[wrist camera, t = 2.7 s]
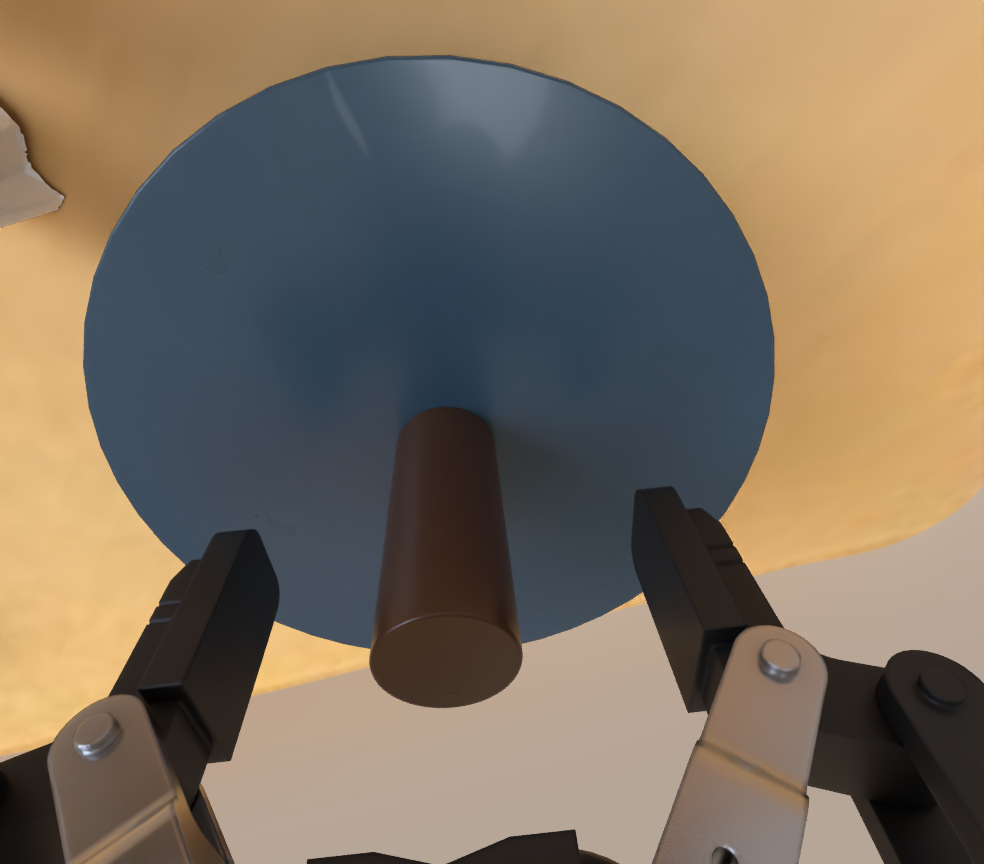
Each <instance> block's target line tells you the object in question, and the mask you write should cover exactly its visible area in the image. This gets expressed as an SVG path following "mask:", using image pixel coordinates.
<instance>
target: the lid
mask: <svg viewBox="0 0 984 864" xmlns="http://www.w3.org/2000/svg"><path fill="white" fill-rule="evenodd" d="M83 368H84V375H85V382H86V389H87V397H88V404H89V409H90V413H91V416H92V419H93V423H94V426H95V429H96V432H97V436H98V439H99V442H100V446H101V448H102V450H103V452H104V455H105V457H106V459H107V461H108V463H109V465H110V467H111V469H112V472H113V474H114V476H115V478H116V480H117V482H118V484H119V485H120V487H121V488H122V490H123V491H124V493H125V495H126V496H127V498H128V499H129V501H130V502H131V504H132V505H133V507H134V509H135V510H136V512H137V513H138V515H139V516H140V517H141V518H142V519H143V521H144V522H145V523H146V524H147V525H148V526H149V528H150V529H151V530H152V531H153V532H154V534H155V535H156V536H157V537H158V538H159V540H160V541H161V542H162V543H163V544H164V545H165V546H166V547H167V548H168V549H169V550H170V551H171V552H172V553H174V554H175V555H176V556H177V557H178V558H179V559H180V560H181V561H182V562H183V563H184V564H185V565H187V564H188V563H189V562H190V561H191V560H197V559H201V558H202V556H203V554H204V552H205V550H206V548H207V546H208V544H209V542H210V540H211V539H212V537H213V536H214V534H216V533H218V532H227V531H236V530H246V529H255V530H256V531H257V532H258V533H259V535H260V537H261V539H262V542H263V544H264V547H265V549H266V552H267V554H268V556H269V559H270V561H271V564H272V566H273V569H274V571H275V574H276V576H277V579H278V582H279V589H280V600H279V607H278V610H277V614H276V617H275V620H274V621H276V622H278V623H280V624H283V625H286V626H288V627H291V628H294V629H296V630H299V631H302V632H305V633H307V634H310V635H313V636H317V637H320V638H324V639H328V640H331V641H335V642H339V643H342V644H346V645H352V646H357V647H363V648H368V649H371V650H370V657H369V664H370V669H371V672H372V674H373V677H374V679H375V680H376V682H377V683H378V685H379V686H380V687H381V688H382V689H383V690H385V691H386V692H387V693H388V694H390V695H392V696H393V697H395V698H397V699H400V700H402V701H404V702H407V703H410V704H414V705H418V706H424V707H432V708H452V707H460V706H466V705H471V704H474V703H478V702H481V701H483V700H486V699H488V698H490V697H492V696H494V695H496V694H498V693H499V692H501V691H502V690H504V689H505V688H506V687H507V686H508V685H509V684H510V683H511V682H512V681H513V680H514V679H515V677H516V676H517V674H518V672H519V670H520V667H521V664H522V657H523V656H522V654H523V653H522V645H521V644H522V643H527V642H531V641H535V640H539V639H543V638H546V637H548V636H552V635H554V634H558V633H560V632H564V631H567V630H570V629H572V628H575V627H577V626H579V625H582V624H584V623H586V622H588V621H591V620H593V619H596V618H598V617H600V616H602V615H604V614H606V613H608V612H610V611H611V610H613V609H615V608H617V607H619V606H621V605H622V604H624V603H626V602H628V601H630V600H631V599H633V598H634V597H636V596H637V595H639V594H640V593H642V592H643V590H642V587H641V585H640V582H639V579H638V577H637V574H636V571H635V568H634V564H633V559H632V551H631V536H632V523H633V509H634V496H635V492H636V490H638V489H648V488H657V487H667V486H672V487H674V488H675V490H676V491H677V493H678V495H679V497H680V499H681V500H682V502H683V504H684V506H685V508H686V509H693V508H702V509H704V510H705V511H706V512H707V513H709V514H710V515H711V516H712V517H714V518H715V519H716V520H718V521H719V520H720V518H721V517H722V516H723V515H724V513H725V512H726V511H727V509H728V507H729V506H730V504H731V502H732V501H733V499H734V497H735V496H736V494H737V493H738V491H739V489H740V488H741V486H742V484H743V483H744V481H745V479H746V476H747V474H748V472H749V470H750V467H751V465H752V463H753V461H754V458H755V456H756V454H757V452H758V450H759V446H760V443H761V440H762V436H763V433H764V429H765V426H766V423H767V419H768V416H769V411H770V404H771V397H772V390H773V383H774V333H773V326H772V320H771V314H770V308H769V302H768V296H767V292H766V289H765V286H764V283H763V280H762V277H761V274H760V271H759V268H758V265H757V262H756V259H755V256H754V254H753V252H752V250H751V248H750V246H749V244H748V242H747V240H746V238H745V236H744V234H743V232H742V230H741V229H740V227H739V225H738V223H737V221H736V219H735V217H734V215H733V213H732V212H731V211H730V209H729V208H728V207H727V205H726V204H725V203H724V201H723V200H722V199H721V197H720V196H719V195H718V193H717V192H716V190H715V189H714V188H713V186H712V185H711V184H710V182H709V181H708V180H707V178H706V177H705V176H704V174H703V173H702V172H701V171H699V170H698V169H697V168H696V167H695V166H694V165H693V164H692V163H691V162H690V161H689V160H688V159H687V158H686V157H685V156H684V155H683V154H682V153H681V152H680V151H679V150H678V149H677V148H676V147H675V146H674V145H673V144H672V143H671V142H669V141H668V140H667V139H666V138H665V137H664V136H662V135H661V134H659V133H658V132H656V131H655V130H654V129H652V128H651V127H649V126H648V125H646V124H645V123H644V122H642V121H641V120H639V119H638V118H636V117H635V116H634V115H632V114H631V113H629V112H628V111H626V110H625V109H624V108H622V107H621V106H619V105H616V104H614V103H612V102H610V101H608V100H606V99H604V98H602V97H600V96H598V95H596V94H594V93H592V92H590V91H588V90H586V89H583V88H581V87H579V86H577V85H575V84H573V83H571V82H569V81H566V80H563V79H559V78H556V77H553V76H549V75H546V74H543V73H540V72H536V71H533V70H530V69H526V68H523V67H520V66H517V65H513V64H509V63H502V62H495V61H487V60H480V59H473V58H466V57H459V56H452V55H431V56H386V57H380V58H374V59H369V60H363V61H357V62H351V63H346V64H340V65H334V66H328V67H325V68H322V69H319V70H316V71H313V72H310V73H307V74H304V75H301V76H299V77H296V78H293V79H290V80H287V81H284V82H281V83H278V84H276V85H273V86H270V87H268V88H266V89H264V90H262V91H260V92H258V93H257V94H255V95H253V96H251V97H249V98H247V99H246V100H244V101H242V102H240V103H238V104H236V105H235V106H233V107H231V108H229V109H227V110H225V111H223V112H222V113H220V114H218V115H217V116H215V117H214V118H213V119H211V120H210V121H209V122H208V123H206V124H205V125H204V126H203V127H201V128H200V129H199V130H197V131H196V132H195V133H194V134H192V135H191V136H190V137H189V138H187V139H186V140H185V141H184V142H182V143H181V144H180V145H178V146H177V147H176V148H175V149H173V150H172V152H171V153H170V154H169V155H168V156H167V157H166V158H165V159H164V160H163V162H162V163H161V164H160V165H159V166H158V167H157V168H156V169H155V171H154V172H153V173H152V174H151V175H150V176H149V177H148V178H147V180H146V181H145V182H144V183H143V184H142V185H141V186H140V187H139V188H138V190H137V191H136V193H135V195H134V196H133V198H132V199H131V201H130V203H129V204H128V206H127V207H126V209H125V211H124V212H123V214H122V216H121V217H120V219H119V220H118V222H117V224H116V225H115V227H114V229H113V230H112V232H111V234H110V237H109V239H108V242H107V244H106V247H105V249H104V252H103V254H102V257H101V259H100V262H99V264H98V267H97V270H96V272H95V275H94V277H93V282H92V287H91V292H90V297H89V302H88V307H87V312H86V317H85V323H84V359H83Z"/></svg>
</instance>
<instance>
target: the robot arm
mask: <svg viewBox="0 0 984 864" xmlns="http://www.w3.org/2000/svg"><path fill="white" fill-rule="evenodd" d="M631 551H632V559H633V564H634V568H635V571H636V574H637V577H638V579H639V582H640V585H641V587H642V590H643V593H644V596H645V598H646V601H647V604H648V606H649V609H650V612H651V614H652V617H653V620H654V622H655V625H656V628H657V631H658V633H659V636H660V638H661V641H662V644H663V647H664V649H665V652H666V655H667V657H668V660H669V663H670V666H671V668H672V670H673V674H674V676H675V679H676V682H677V684H678V687H679V690H680V692H681V695H682V698H683V700H684V703H685V706H686V709H687V711H688V713H691V712H700V711H707V714H708V717H707V720H706V723H705V726H704V729H703V731H702V734H701V737H700V739H699V740H697V742H696V744H695V746H694V749H693V751H692V753H691V756H690V759H689V762H688V764H687V767H686V770H685V773H684V775H683V778H682V781H681V784H680V787H679V789H678V792H677V795H676V798H675V801H674V803H673V806H672V809H671V812H670V814H669V817H668V820H667V823H666V826H665V828H664V831H663V834H662V837H661V840H660V842H659V845H658V848H657V851H656V854H655V857H654V859H653V862H652V864H798V863H799V857H800V852H801V847H802V842H803V836H804V830H805V825H806V820H807V814H808V807H809V797H808V796H807V795H806V792H807V786H812V787H816V788H820V789H825V790H829V791H833V792H837V793H842V794H846V795H850V796H851V797H852V799H853V801H854V803H855V805H856V807H857V809H858V811H859V813H860V815H861V817H862V820H863V822H864V823H865V826H866V828H867V830H868V832H869V834H870V836H871V838H872V840H873V842H874V844H875V846H876V848H877V850H878V852H879V854H880V856H881V858H882V860H883V862H884V864H984V683H983V682H981V680H980V679H979V678H978V677H976V676H975V675H974V674H973V673H972V672H970V671H969V670H968V669H966V668H965V667H963V666H962V665H960V664H958V663H957V662H955V661H952V660H951V659H948V658H946V657H944V656H941V655H938V654H935V653H931V652H928V651H921V650H908V651H902V652H900V653H897V654H895V655H894V656H892V657H891V658H890V659H889V661H888V663H887V665H886V667H885V668H882V667H877V666H871V665H866V664H860V663H854V662H849V661H843V660H838V659H834V658H830V657H827V656H824V655H821V654H819V652H818V651H817V650H816V649H815V647H813V646H812V645H811V644H810V643H809V642H808V641H807V640H805V639H804V638H803V637H801V636H799V635H798V634H796V633H794V632H792V631H790V630H787V629H785V628H784V627H783V625H782V624H781V623H780V621H779V619H778V618H777V616H776V614H775V613H774V611H773V609H772V608H771V606H770V604H769V603H768V601H767V599H766V598H765V596H764V594H763V593H762V591H761V589H760V588H759V586H758V584H757V582H756V581H755V579H754V577H753V576H752V574H751V572H750V571H749V569H748V567H747V566H746V564H745V563H743V561H742V557H741V556H740V554H739V552H738V551H737V549H736V547H733V542H732V541H731V539H730V537H729V536H728V534H727V532H726V531H725V529H724V527H723V526H722V524H721V523H720V522H719V521H718V520H716V519H715V518H714V517H712V516H711V515H710V514H709V513H707V512H706V511H705V510H704V509H702V508H693V509H686V508H685V506H684V504H683V502H682V500H681V499H680V497H679V495H678V493H677V491H676V490H675V488H674V487H672V486H667V487H657V488H648V489H638V490H636V492H635V496H634V509H633V523H632V536H631ZM279 600H280V589H279V582H278V579H277V576H276V574H275V571H274V569H273V566H272V564H271V561H270V559H269V556H268V554H267V552H266V549H265V547H264V544H263V542H262V539H261V537H260V535H259V533H258V532H257V531H256V530H255V529H246V530H236V531H227V532H218V533H216V534H214V536H213V537H212V539H211V540H210V542H209V544H208V546H207V548H206V550H205V552H204V554H203V556H202V558H201V559H197V560H191V561H190V562H189V563H188V564H187V565H186V566H185V567H184V568H183V569H182V570H181V571H180V572H179V573H178V574H177V575H176V576H175V577H174V578H173V579H172V580H171V581H170V583H169V585H168V586H167V588H166V590H165V592H164V594H163V596H162V598H161V599H160V601H159V607H156V609H155V611H154V613H153V614H152V616H151V618H150V620H149V621H150V624H149V625H147V626H146V627H145V629H144V631H143V633H142V635H141V637H140V639H139V640H138V642H137V644H136V646H135V648H134V650H133V652H132V653H131V655H130V657H129V659H128V661H127V663H126V665H125V667H124V668H123V670H122V672H121V674H120V676H119V678H118V680H117V681H116V683H115V685H114V687H113V689H112V691H111V693H110V694H109V696H108V697H106V698H104V699H101V700H99V701H97V702H95V703H93V704H91V705H89V706H88V707H86V708H85V709H83V710H82V711H80V712H79V713H78V714H77V715H75V716H74V717H73V718H72V719H71V720H70V721H69V722H68V723H67V724H66V725H65V726H64V727H63V728H62V729H61V731H60V732H59V733H58V735H57V736H56V738H55V739H54V741H53V742H52V743H50V744H47V745H45V746H42V747H40V748H37V749H34V750H32V751H29V752H27V753H24V754H22V755H19V756H16V757H14V758H11V759H9V760H6V761H4V762H1V763H0V864H234V861H233V858H232V856H231V853H230V851H229V849H228V846H227V844H226V841H225V839H224V836H223V834H222V831H221V829H220V827H219V824H218V822H217V819H216V817H215V814H214V812H213V810H212V807H211V805H210V802H209V800H208V797H207V795H206V792H205V790H204V788H203V786H202V785H201V783H200V782H201V779H202V777H203V774H204V771H205V768H206V765H207V763H216V762H225V761H230V760H231V758H232V755H233V752H234V748H235V745H236V742H237V739H238V736H239V732H240V729H241V726H242V723H243V720H244V716H245V713H246V710H247V707H248V704H249V700H250V697H251V694H252V691H253V687H254V684H255V681H256V678H257V675H258V671H259V668H260V665H261V662H262V659H263V655H264V652H265V649H266V646H267V643H268V639H269V636H270V633H271V630H272V627H273V623H274V620H275V617H276V614H277V610H278V607H279ZM307 864H429V863H424V862H420V861H415V860H409V859H405V858H400V857H395V856H390V855H386V854H381V853H376V852H370V853H360V854H351V855H342V856H334V857H324V858H316V859H308V860H307ZM447 864H619V863H617V862H615V861H613V860H611V859H609V858H607V857H604V856H601V855H598V854H595V853H593V852H589V851H584V850H579V849H578V843H577V837H576V831H575V830H567V831H558V832H549V833H540V834H530V835H522V836H513V837H508V838H506V839H504V840H501V841H499V842H496V843H494V844H492V845H489V846H487V847H485V848H482V849H480V850H478V851H476V852H473V853H471V854H469V855H466V856H464V857H461V858H459V859H457V860H454V861H452V862H450V863H447Z"/></svg>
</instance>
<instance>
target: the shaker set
mask: <svg viewBox="0 0 984 864" xmlns="http://www.w3.org/2000/svg"><path fill="white" fill-rule="evenodd" d="M26 150H27V148H26V145H25V141H24V136H23V134H22V133H20V127H19V126H18V125H17V124H16V123H15V122H14V121H13V120H12V118H10V117H9V115H8V114H7V113H6V112H5V111H4V110H3V109H2V108H0V228H2V227H5V226H8V225H11V224H14V223H18V222H22V221H25V220H28V219H31V218H35V217H38V216H40V215H43V214H46V213H50V212H53V211H58V209H59V208H58V207H59V206H60V205H61V204H62V200H64V196H63V195H61V194H60V193H58V192H57V191H55V190H53V189H51V188H50V187H49V185H47V184H46V183H45V182H44V180H43V179H41V177H40V175H39V174H37V173H36V172H35V171H34V170H33V169H32V168H31V163H28V162H29V161H28V162H27V160H28V159H26V157H27V155H28V154H27V153H25V151H26Z"/></svg>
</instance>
